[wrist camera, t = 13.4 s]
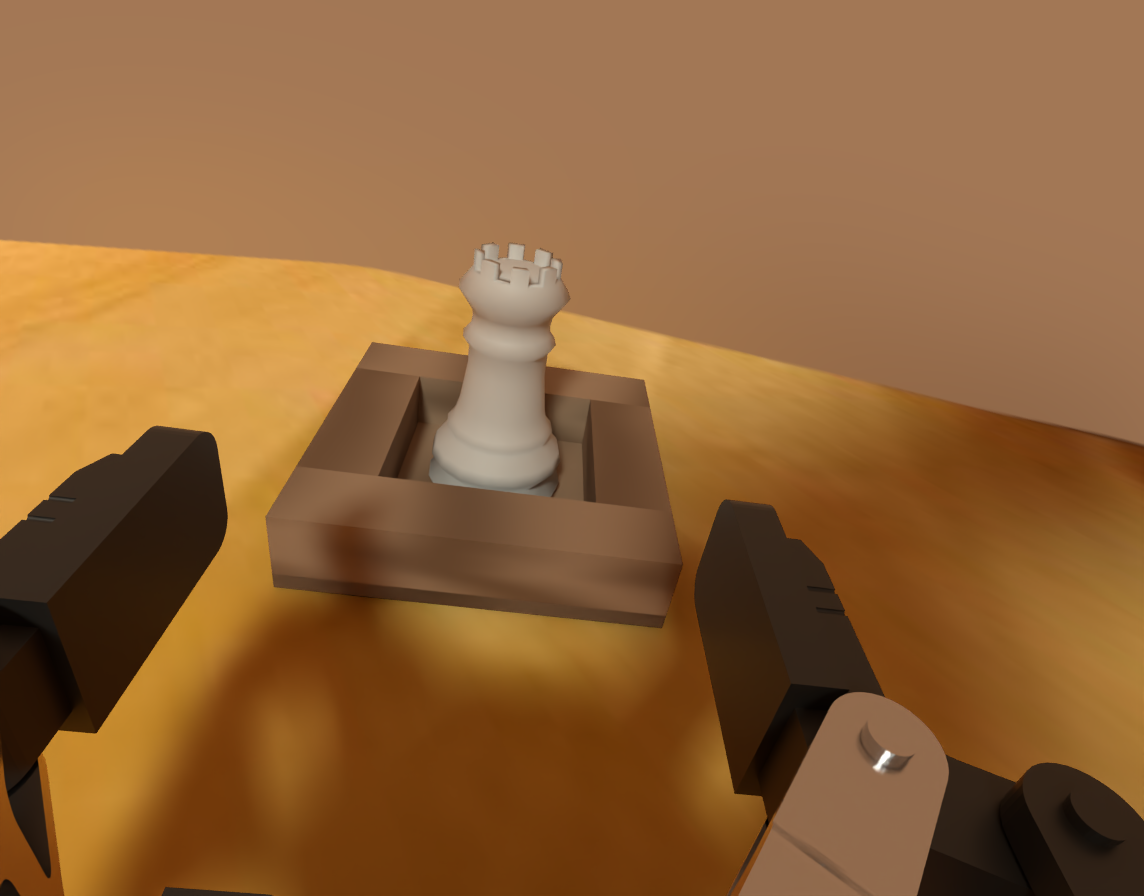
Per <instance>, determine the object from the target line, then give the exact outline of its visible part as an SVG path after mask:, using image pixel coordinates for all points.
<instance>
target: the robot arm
mask: <svg viewBox="0 0 1144 896" xmlns="http://www.w3.org/2000/svg"><path fill="white" fill-rule="evenodd" d="M227 519H228V515H227V506H226V499H225V493H224V487H223V480H222V474H221V468H220V461H219V455H218V449H217V444H216V441H215V438H214V437H213V435H212V434H211V433H209V432H202V431H194V430H187V429H179V428H171V427H163V426H154V427H152V428H150V429H149V430H147V431H146V432H145V433H144V434H143V435H142V436H141V437H140V438H139V439H138V440H137V441H136V442H135V443H134V444H133V445H132V446H131V447H130V448H129V449H128V450H126V451H125V452H124V453H123V454H122V455H120V454H110V455H108V456H106V457H104V458H102V459H100V460H98V461H96V462H94V463H92V464H90V465H88V466H86V467H84V468H82V469H80V470H78V471H76V472H74V473H73V474H72V475H71V476H70V477H69V478H68V479H67V480H65V481H64V482H63V483H62V484H61V485H60V486H59V487H58V488H57V489H55V490H54V491H53V492H52V493H51V494H50V495H49V500H43V501H42V502H41V503H40V504H39V505H38V506H37V507H36V508H34V509H33V510H32V511H31V512H30V513H29V514H28V518H27V520H21V521H20V522H19V523H18V524H17V525H16V526H15V527H13V528H12V529H11V530H10V531H9V532H8V533H7V534H6V535H5V536H3V537H2V538H1V539H0V896H64V891H63V884H62V877H61V870H60V862H59V854H58V847H57V839H56V832H55V824H54V817H53V809H52V802H51V794H50V787H49V779H48V772H47V765H46V761H45V758H44V756H43V754H42V752H43V751H44V749H45V748H46V746H47V745H48V744H49V742H50V741H51V739H52V738H53V737H54V735H55V734H56V733H57V731H58V730H62V731H73V732H85V733H97V732H98V730H99V729H100V727H101V726H102V724H103V723H104V721H105V720H106V718H107V717H108V715H109V714H110V712H111V711H112V709H113V708H114V706H115V705H116V703H117V702H118V700H119V699H120V697H121V696H122V694H123V693H124V691H125V690H126V688H127V687H128V685H129V684H130V682H131V681H132V679H133V678H134V676H135V675H136V673H137V672H138V670H139V669H140V667H141V666H142V664H143V663H144V661H145V660H146V658H147V657H148V655H149V654H150V652H151V651H152V650H153V648H154V647H155V645H156V644H157V642H158V641H159V639H160V638H161V636H162V635H163V633H164V632H165V630H166V629H167V627H168V626H169V624H170V623H171V621H172V620H173V618H174V617H175V615H176V614H177V612H178V611H179V609H180V608H181V606H182V605H183V603H184V602H185V600H186V599H187V597H188V596H189V594H190V593H191V591H192V590H193V588H194V587H195V585H196V584H197V582H198V581H199V579H200V578H201V576H202V575H203V573H204V572H205V570H206V569H207V567H208V566H209V564H210V563H211V561H212V560H213V558H214V557H215V555H216V554H217V552H218V551H219V549H220V547H221V545H222V542H223V540H224V536H225V533H226V528H227ZM834 591H835V588H834V586H833V584H832V582H831V580H830V577H829V575H828V573H827V571H826V569H825V567H824V564H823V563H822V562H821V561H820V560H819V559H818V558H817V557H816V556H815V555H814V554H813V552H812V551H811V550H810V549H809V548H808V547H807V546H806V545H805V544H804V543H803V542H802V541H801V540H798V539H790V538H787V537H786V535H785V533H784V530H783V528H782V525H781V523H780V521H779V518H778V516H777V513H776V511H775V509H774V508H773V507H772V506H771V505H766V504H758V503H750V502H742V501H734V500H724V501H723V502H722V503H721V505H720V507H719V509H718V512H717V514H716V517H715V520H714V523H713V526H712V529H711V532H710V535H709V538H708V541H707V543H706V546H705V549H704V552H703V555H702V558H701V561H700V564H699V567H698V570H697V574H696V580H695V594H694V595H695V607H696V612H697V617H698V621H699V626H700V631H701V636H702V641H703V645H704V650H705V655H706V660H707V664H708V669H709V674H710V679H711V683H712V688H713V693H714V698H715V702H716V707H717V712H718V717H719V721H720V726H721V731H722V736H723V740H724V745H725V750H726V755H727V759H728V764H729V769H730V774H731V778H732V783H733V788H734V793H735V794H744V795H755V796H762V797H763V801H764V805H765V809H766V813H767V818H766V819H765V821H764V823H763V824H762V826H761V828H760V830H759V832H758V834H757V836H756V838H755V840H754V842H753V844H752V845H751V847H750V849H749V851H748V853H747V855H746V857H745V859H744V861H743V863H742V865H741V867H740V869H739V871H738V873H737V874H736V876H735V878H734V880H733V882H732V884H731V886H730V888H729V890H728V892H727V894H726V896H1144V821H1143V819H1142V818H1141V817H1140V816H1139V815H1138V814H1137V813H1136V811H1135V810H1134V809H1133V808H1132V807H1131V806H1130V805H1129V804H1128V803H1127V802H1126V801H1125V800H1123V799H1122V798H1121V797H1120V796H1119V795H1117V794H1116V793H1115V792H1114V791H1113V790H1111V789H1110V788H1108V787H1107V786H1106V785H1104V784H1103V783H1101V782H1100V781H1098V780H1096V779H1095V778H1093V777H1091V776H1090V775H1088V774H1086V773H1083V772H1081V771H1079V770H1077V769H1074V768H1072V767H1069V766H1066V765H1061V764H1057V763H1041V764H1037V765H1035V766H1032V767H1031V768H1030V769H1029V770H1027V772H1026V773H1025V774H1024V775H1023V776H1022V777H1021V778H1020V779H1019V780H1018V781H1017V783H1016V782H1013V781H1010V780H1008V779H1005V778H1003V777H1000V776H997V775H995V774H992V773H990V772H987V771H984V770H982V769H979V768H977V767H974V766H972V765H969V764H966V763H964V762H961V761H959V760H956V759H954V758H952V757H949V756H947V755H945V753H944V751H943V749H942V747H941V745H940V743H939V741H938V740H937V738H936V737H935V735H934V734H933V733H932V732H931V730H930V729H929V728H928V727H927V726H926V725H925V724H924V723H923V722H922V721H921V720H920V719H919V718H918V717H917V716H915V715H914V714H913V713H912V712H910V711H909V710H907V709H906V708H904V707H903V706H901V705H900V704H898V703H896V702H894V701H892V700H890V699H887V698H885V696H884V694H883V692H882V690H881V688H880V685H879V683H878V681H877V679H876V677H875V675H874V672H873V670H872V668H871V666H870V664H869V662H868V660H867V657H866V655H865V653H864V651H863V649H862V647H861V644H860V642H859V640H858V638H857V636H856V634H855V631H854V629H853V627H852V625H851V623H850V621H849V618H848V616H845V615H844V611H845V610H844V608H843V606H842V603H841V601H840V599H839V597H838V595H837V594H835V593H834ZM162 896H272V895H266V894H253V893H239V892H225V891H211V890H197V889H184V888H170V887H165V889H164V892H163V894H162Z"/></svg>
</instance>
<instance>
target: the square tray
mask: <svg viewBox="0 0 1144 896" xmlns="http://www.w3.org/2000/svg"><path fill="white" fill-rule="evenodd" d="M467 363H468V356H467V355H460V354H453V353H446V352H439V351H431V350H424V349H417V348H410V347H403V346H395V345H388V344H381V343H374V342H372V343H371V345H370V347H369V348H368V350H367V352H366V353H365V355H364V356H363V358H362V360H361V361H360V363H359V365H358V366H357V368H356V370H355V371H354V373H353V374H352V376H351V378H350V379H349V381H348V383H347V384H346V386H345V388H344V389H343V391H342V392H341V394H340V396H339V397H338V399H337V401H336V402H335V404H334V406H333V407H332V409H331V410H330V412H329V414H328V415H327V417H326V419H325V420H324V422H323V424H322V425H321V427H320V428H319V430H318V432H317V433H316V435H315V437H314V438H313V440H312V442H311V443H310V445H309V446H308V448H307V450H306V451H305V453H304V455H303V456H302V458H301V460H300V461H299V463H298V464H297V466H296V468H295V469H294V471H293V473H292V474H291V476H290V478H289V479H288V481H287V482H286V484H285V486H284V487H283V489H282V491H281V492H280V494H279V496H278V497H277V499H276V500H275V502H274V504H273V505H272V507H271V509H270V510H269V512H268V514H267V515H266V525H267V533H268V542H269V550H270V558H271V567H272V575H273V584H274V587H280V588H289V589H299V590H308V591H318V592H327V593H336V594H346V595H355V596H365V597H374V598H383V599H393V600H402V601H412V602H421V603H431V604H440V605H449V606H459V607H468V608H478V609H487V610H497V611H506V612H515V613H525V614H534V615H544V616H553V617H562V618H572V619H581V620H591V621H600V622H610V623H619V624H628V625H638V626H647V627H657V628H662V626H663V623H664V620H665V617H666V614H667V611H668V608H669V605H670V602H671V599H672V596H673V593H674V590H675V587H676V584H677V581H678V578H679V575H680V572H681V569H682V566H683V563H682V558H681V554H680V549H679V544H678V539H677V534H676V530H675V525H674V520H673V515H672V511H671V506H670V501H669V496H668V492H667V487H666V482H665V477H664V472H663V468H662V463H661V458H660V453H659V449H658V444H657V439H656V434H655V430H654V425H653V420H652V415H651V410H650V406H649V401H648V396H647V391H646V387H645V382H644V380H640V379H633V378H626V377H619V376H611V375H604V374H597V373H590V372H583V371H575V370H568V369H561V368H554V367H547V366H546V368H545V415H546V417H547V418H548V419H549V420H550V422H551V428H552V434H553V435H554V436H555V437H556V439H557V444H558V450H559V457H560V463H559V465H558V466H557V468H556V470H557V476H558V482H559V483H558V485H557V487H556V488H555V490H554V492H553V494H552V496H551V497H545V496H537V495H529V494H520V493H512V492H504V491H496V490H488V489H479V488H471V487H463V486H455V485H447V484H438V483H433V482H432V480H431V478H430V476H429V469H430V460H431V459H432V458H433V457H434V456H433V454H432V449H433V440H434V437H435V434H436V432H437V430H438V429H439V428H440V427H441V426H442V425H443V424H444V422H445V421H446V420H447V419H448V413H449V412H450V411H451V410H452V409H453V408H454V407H455V406H456V404H457V401H458V399H459V396H460V393H461V389H462V384H463V380H464V376H465V371H466V367H467Z"/></svg>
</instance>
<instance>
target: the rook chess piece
mask: <svg viewBox="0 0 1144 896" xmlns="http://www.w3.org/2000/svg"><path fill="white" fill-rule="evenodd" d="M524 249H525V245H524V244H517V243H509V244H508V254H507V258H498V252H499V245H497V244H495V243H488V244H482V246H481V250H480V249H475V254H474V265H473V266H472V267H471V268H470V269H469V270H468V271H467V272H466V273H465V274H464V275H463V276H462V277H461V278H460V280H459V288H460V290H461V291H462V293H463V294H464V296H465V298H466V299H467V301H468V302H469V304H470V306H471V307H472V309H473V316H472V321H471V322H470V323H469V324H468V325H467V326H466V327H465V328H464V333H463V336H464V338H465V339H466V341H467V342H468V343H469V355H468V363H467V367H466V371H465V376H464V380H463V384H462V389H461V393H460V396H459V399H458V401H457V404H456V406H455V407H454V408H453V409H452V410H451V411H450V412H449V413H448V419H447V420H446V421H445V422H444V424H443V425H442V426H441V427H440V428H439V429H438V430H437V432H436V434H435V437H434V440H433V449H432V454H433V456H434V457H433V458H432V459H431V460H430V469H429V476H430V478H431V480H432V482H433V483H438V484H447V485H455V486H463V487H471V488H479V489H488V490H496V491H504V492H512V493H520V494H529V495H537V496H545V497H551V496H552V494H553V492H554V490H555V488H556V487H557V485H558V483H559V482H558V476H557V470H556V468H557V466H558V465H559V463H560V457H559V450H558V444H557V439H556V437H555V436H554V435H553V434H552V428H551V422H550V420H549V419H548V418H547V417H546V415H545V368H546V361H547V354H548V353H549V352H550V351H551V350H552V349H553V348H554V346H555V345H556V344H555V339H554V337H553V335H552V333H551V332H550V325H551V321H552V318H553V317H554V316H555V315H556V314H557V313H558V312H559V311H560V310H561V309H562V308H563V307H564V306H565V305H566V304H567V303H568V301H569V300H570V296H569V292H568V290H567V288H566V286H565V285H564V283H563V281H562V280H561V272H562V265H563V264H562V261H561V259H554V258H553V253H551V252H549V251H546V250H544V249H541V248H540V249H537V250H536V253H535V261H534V262H531V261H527V260H523V258H524Z"/></svg>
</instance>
